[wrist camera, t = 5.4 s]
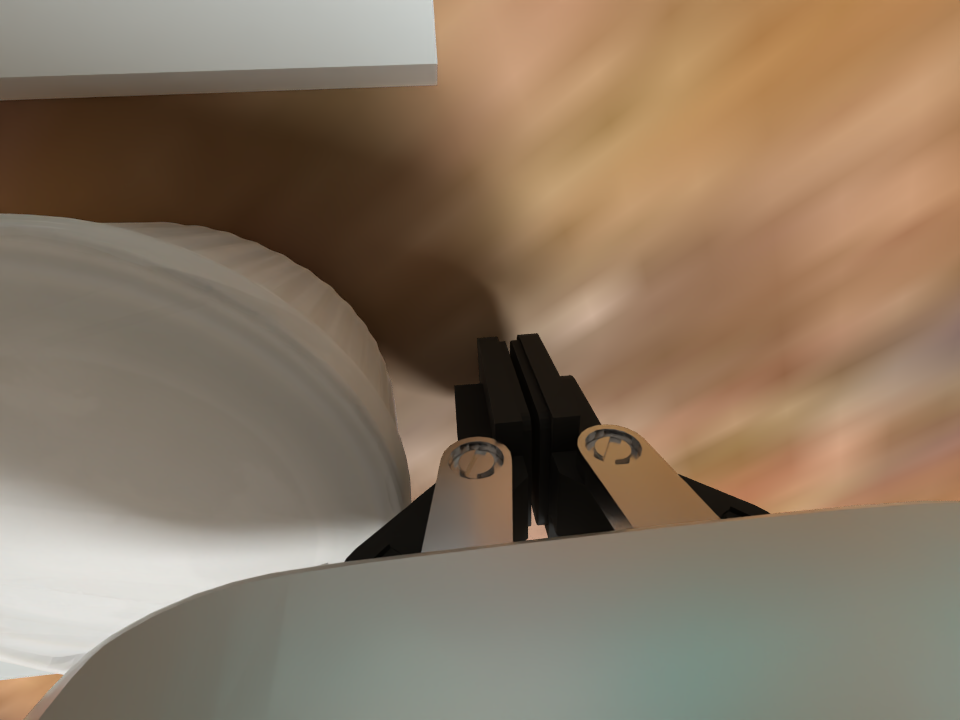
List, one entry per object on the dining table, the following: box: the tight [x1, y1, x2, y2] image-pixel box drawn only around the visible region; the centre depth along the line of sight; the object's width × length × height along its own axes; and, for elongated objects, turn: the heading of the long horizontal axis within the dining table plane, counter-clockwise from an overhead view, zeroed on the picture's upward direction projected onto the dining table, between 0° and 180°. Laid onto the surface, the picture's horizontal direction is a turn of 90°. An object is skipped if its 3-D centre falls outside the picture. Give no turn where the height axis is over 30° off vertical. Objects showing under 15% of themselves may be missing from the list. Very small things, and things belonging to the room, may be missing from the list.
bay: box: [0, 0, 437, 680], centre depth 10 cm, size 17×22×4 cm
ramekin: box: [0, 214, 411, 675], centre depth 10 cm, size 11×11×5 cm
